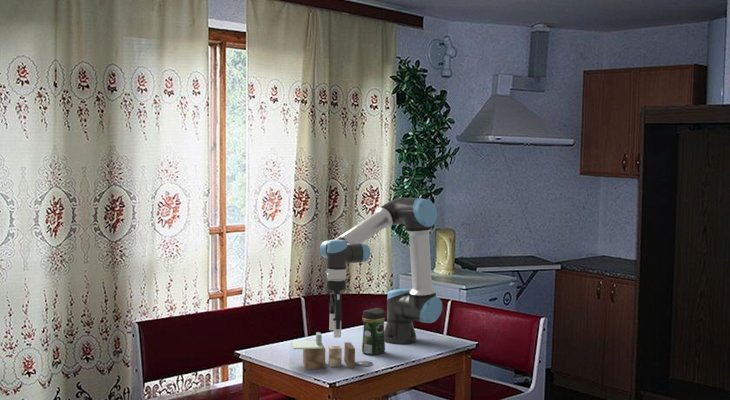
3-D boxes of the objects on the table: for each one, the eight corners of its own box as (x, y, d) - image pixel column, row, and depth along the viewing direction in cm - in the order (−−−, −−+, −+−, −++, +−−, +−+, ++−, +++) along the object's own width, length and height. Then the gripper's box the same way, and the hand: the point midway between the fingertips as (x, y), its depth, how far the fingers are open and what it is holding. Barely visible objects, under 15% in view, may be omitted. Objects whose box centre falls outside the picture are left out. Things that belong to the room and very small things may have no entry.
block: (339, 363, 311) (340, 345, 311) (341, 366, 307) (341, 348, 306) (328, 363, 310) (328, 346, 310) (329, 366, 306) (330, 348, 306)
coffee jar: (373, 349, 336) (374, 306, 335) (387, 352, 330) (388, 308, 329) (358, 353, 328) (359, 308, 328) (372, 356, 323) (373, 311, 322)
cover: (319, 342, 313) (319, 330, 313) (322, 348, 302) (322, 336, 301) (291, 342, 311) (291, 331, 311) (293, 349, 300) (293, 337, 299)
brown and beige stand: (350, 360, 315) (350, 342, 315) (354, 367, 304) (355, 348, 304) (302, 362, 312) (303, 343, 312) (305, 369, 301) (305, 349, 301)
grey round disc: (371, 361, 314) (371, 360, 314) (374, 366, 308) (374, 365, 308) (353, 362, 313) (353, 361, 313) (356, 366, 306) (356, 365, 306)
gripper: (323, 275, 319) (321, 327, 319) (330, 284, 294) (329, 340, 295) (341, 275, 320) (340, 327, 321) (350, 284, 295) (349, 340, 296)
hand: (334, 333), depth 308 cm, fingers open, 13 cm apart
